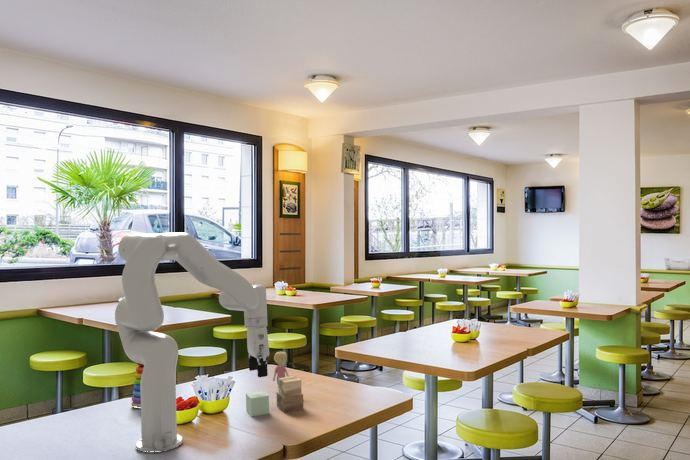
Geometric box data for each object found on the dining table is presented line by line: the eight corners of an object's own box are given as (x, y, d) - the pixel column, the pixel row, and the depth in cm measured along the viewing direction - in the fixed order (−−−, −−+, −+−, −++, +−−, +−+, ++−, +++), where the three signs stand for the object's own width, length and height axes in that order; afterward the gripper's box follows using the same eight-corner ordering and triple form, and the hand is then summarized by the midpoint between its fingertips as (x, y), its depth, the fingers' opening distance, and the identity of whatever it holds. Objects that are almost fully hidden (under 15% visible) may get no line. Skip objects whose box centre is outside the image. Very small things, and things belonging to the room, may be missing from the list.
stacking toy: (150, 409, 190) (149, 354, 190) (127, 410, 190) (126, 355, 190) (158, 402, 198) (157, 350, 198) (136, 403, 198) (135, 350, 198)
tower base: (303, 409, 186) (303, 394, 187) (283, 413, 183) (283, 397, 183) (295, 404, 193) (295, 389, 193) (276, 407, 190) (276, 392, 190)
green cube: (269, 413, 183) (268, 395, 183) (251, 416, 180) (251, 398, 180) (263, 408, 188) (263, 391, 188) (246, 411, 186) (246, 393, 186)
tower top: (301, 394, 187) (301, 379, 187) (284, 397, 184) (284, 382, 184) (295, 390, 192) (294, 375, 192) (278, 392, 189) (278, 378, 189)
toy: (291, 390, 210) (290, 350, 210) (288, 393, 205) (288, 353, 205) (274, 389, 210) (273, 350, 211) (271, 393, 206) (270, 353, 206)
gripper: (275, 324, 178) (277, 377, 179) (259, 317, 194) (261, 366, 194) (252, 327, 175) (254, 381, 175) (238, 319, 191) (240, 369, 191)
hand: (258, 373), depth 185 cm, fingers open, 9 cm apart
